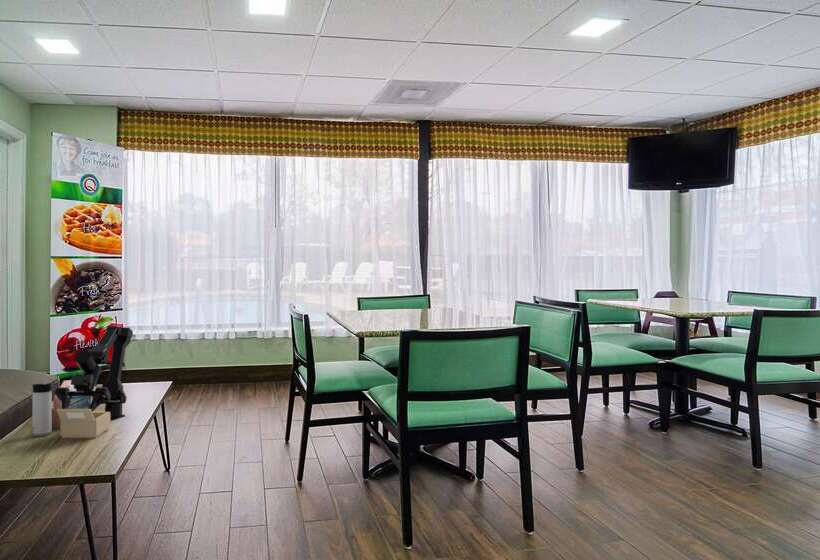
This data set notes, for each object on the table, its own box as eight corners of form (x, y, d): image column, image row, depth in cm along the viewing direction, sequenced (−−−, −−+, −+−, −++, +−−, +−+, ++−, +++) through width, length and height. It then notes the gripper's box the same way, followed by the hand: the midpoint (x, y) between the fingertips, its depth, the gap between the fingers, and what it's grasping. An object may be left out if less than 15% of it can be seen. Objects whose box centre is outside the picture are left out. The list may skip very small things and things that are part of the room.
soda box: (92, 426, 242) (92, 394, 242) (52, 429, 236) (52, 397, 236) (96, 404, 279) (97, 377, 279) (62, 407, 273) (62, 379, 273)
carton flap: (57, 408, 220) (56, 410, 220) (90, 408, 221) (90, 410, 220) (61, 419, 224) (61, 421, 223) (94, 419, 224) (94, 421, 224)
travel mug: (29, 437, 225) (29, 384, 224) (35, 432, 231) (35, 381, 230) (48, 436, 226) (48, 383, 226) (53, 431, 233) (53, 380, 232)
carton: (76, 429, 236) (76, 411, 236) (110, 429, 237) (110, 411, 237) (60, 438, 224) (60, 419, 224) (96, 438, 225) (96, 419, 224)
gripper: (56, 366, 226) (41, 402, 215) (107, 366, 227) (94, 402, 217) (67, 382, 234) (53, 418, 224) (116, 382, 235) (104, 417, 225)
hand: (75, 413), depth 222 cm, fingers open, 9 cm apart
